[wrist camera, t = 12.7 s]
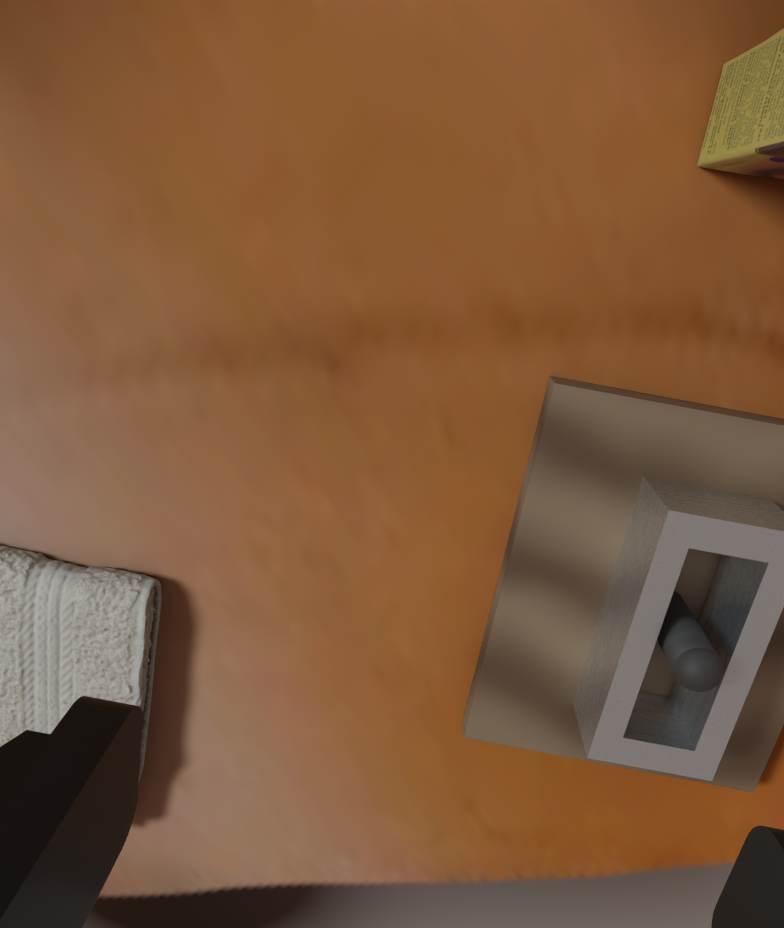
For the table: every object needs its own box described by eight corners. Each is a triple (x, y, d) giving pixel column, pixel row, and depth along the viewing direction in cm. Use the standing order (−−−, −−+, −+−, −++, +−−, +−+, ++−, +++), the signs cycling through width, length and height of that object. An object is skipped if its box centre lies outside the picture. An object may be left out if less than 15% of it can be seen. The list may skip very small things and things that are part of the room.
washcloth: (-39, 778, 45) (-72, 817, 42) (-46, 524, 39) (-85, 549, 36) (146, 815, 45) (126, 857, 42) (168, 567, 39) (146, 595, 36)
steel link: (643, 476, 33) (668, 510, 30) (770, 499, 33) (812, 536, 29) (572, 703, 38) (586, 757, 34) (685, 724, 38) (711, 781, 34)
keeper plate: (549, 375, 34) (577, 419, 26) (887, 438, 33) (1006, 499, 26) (463, 718, 40) (467, 826, 33) (743, 771, 40) (806, 891, 33)
